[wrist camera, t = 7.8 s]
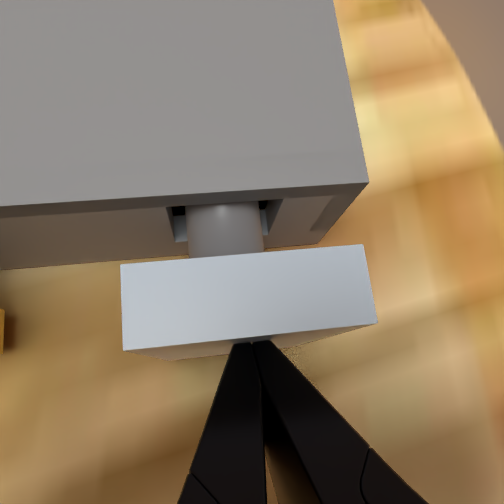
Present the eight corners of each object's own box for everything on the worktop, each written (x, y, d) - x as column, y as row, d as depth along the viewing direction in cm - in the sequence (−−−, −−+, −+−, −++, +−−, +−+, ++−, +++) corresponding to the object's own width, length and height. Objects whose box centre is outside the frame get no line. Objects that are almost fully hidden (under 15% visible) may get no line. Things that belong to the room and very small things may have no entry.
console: (316, 243, 18) (369, 182, 12) (-163, 283, 15) (-387, 231, 10) (288, 61, 20) (320, -65, 14) (-133, 73, 18) (-298, -70, 12)
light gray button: (293, 346, 15) (377, 323, 8) (168, 360, 15) (123, 350, 7) (262, 117, 18) (302, -76, 10) (154, 122, 17) (109, -78, 10)
